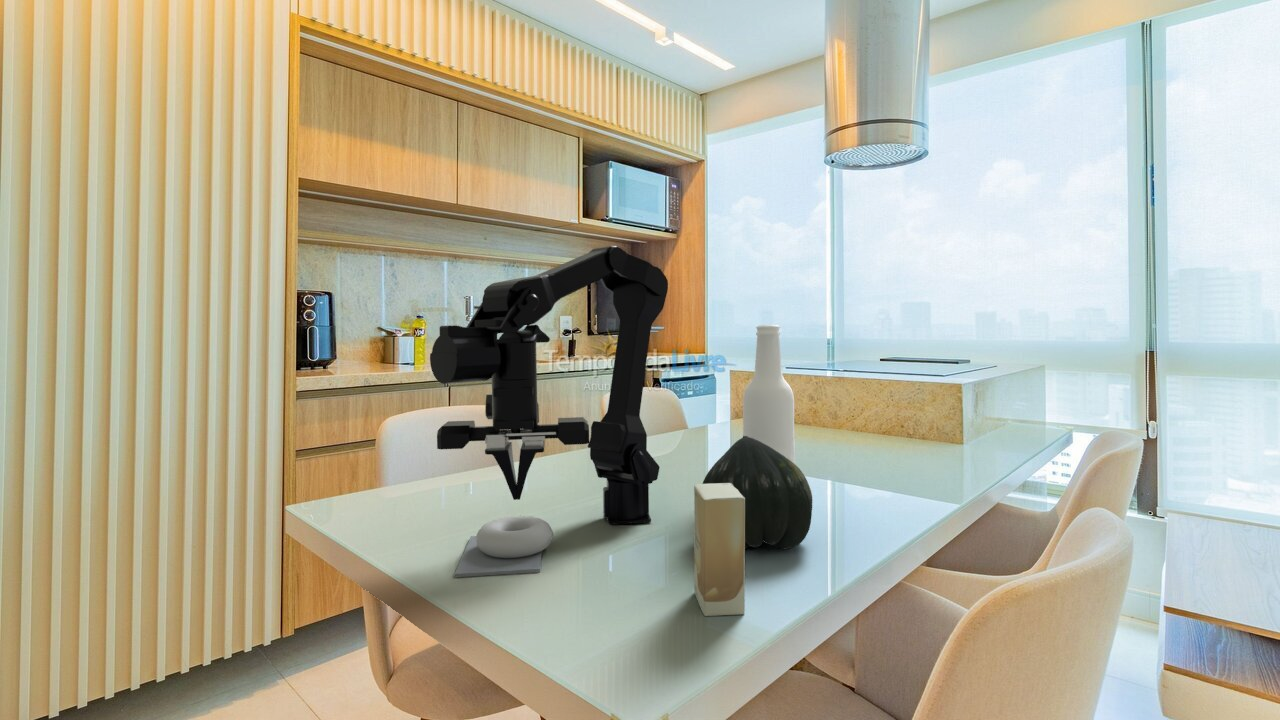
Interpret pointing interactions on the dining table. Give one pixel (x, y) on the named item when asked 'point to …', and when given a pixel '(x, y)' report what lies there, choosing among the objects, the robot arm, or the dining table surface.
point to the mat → (494, 563)
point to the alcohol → (769, 397)
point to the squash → (766, 493)
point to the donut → (514, 536)
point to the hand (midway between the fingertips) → (517, 498)
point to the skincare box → (719, 549)
